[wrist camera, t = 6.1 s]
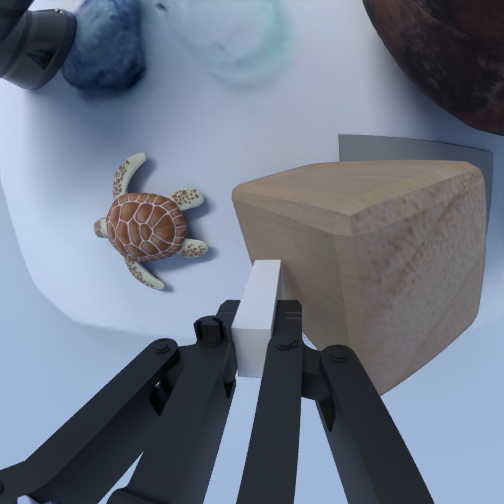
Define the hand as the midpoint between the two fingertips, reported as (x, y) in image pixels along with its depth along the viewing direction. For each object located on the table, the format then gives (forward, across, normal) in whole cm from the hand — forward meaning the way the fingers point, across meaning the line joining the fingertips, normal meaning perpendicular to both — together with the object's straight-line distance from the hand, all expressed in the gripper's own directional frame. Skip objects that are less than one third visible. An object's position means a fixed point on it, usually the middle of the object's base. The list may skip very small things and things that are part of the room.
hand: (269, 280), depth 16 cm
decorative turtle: (+16, -17, 0) cm, 23 cm away
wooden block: (+14, 0, 0) cm, 14 cm away
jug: (+16, +22, +23) cm, 36 cm away
